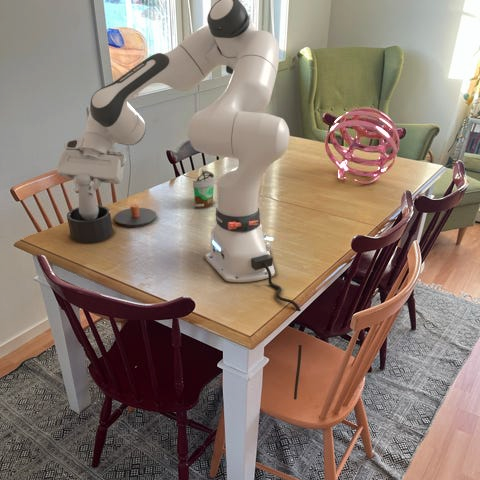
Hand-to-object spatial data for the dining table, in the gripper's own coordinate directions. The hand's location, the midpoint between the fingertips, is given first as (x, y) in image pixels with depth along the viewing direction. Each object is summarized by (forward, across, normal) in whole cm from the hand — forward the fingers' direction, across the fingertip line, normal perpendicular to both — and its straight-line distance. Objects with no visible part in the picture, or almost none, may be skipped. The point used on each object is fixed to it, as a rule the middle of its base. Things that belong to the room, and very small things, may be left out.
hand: (84, 193), depth 140 cm
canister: (+9, 0, -10) cm, 13 cm away
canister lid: (-2, -8, -20) cm, 21 cm away
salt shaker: (+5, 0, -6) cm, 8 cm away
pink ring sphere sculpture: (-46, -75, -65) cm, 109 cm away
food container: (-15, -26, -34) cm, 45 cm away
